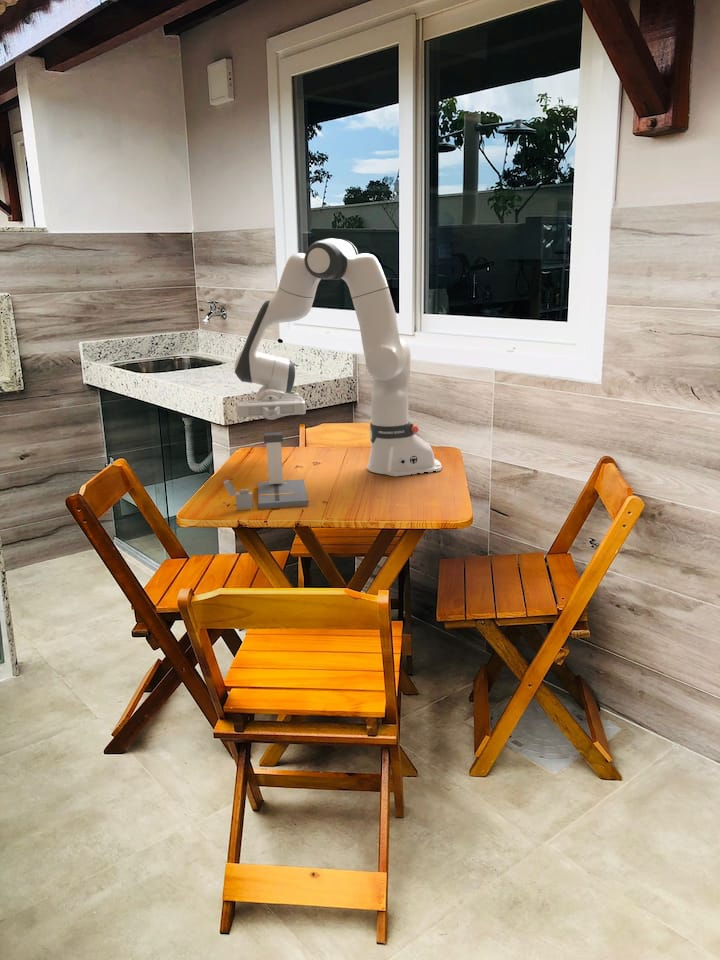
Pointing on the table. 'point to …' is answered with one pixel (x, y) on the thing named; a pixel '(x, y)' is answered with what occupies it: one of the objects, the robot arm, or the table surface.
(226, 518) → the table surface
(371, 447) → the robot arm
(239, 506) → the lighter
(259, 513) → the table surface
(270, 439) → the grey post
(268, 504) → the console
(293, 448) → the table surface
